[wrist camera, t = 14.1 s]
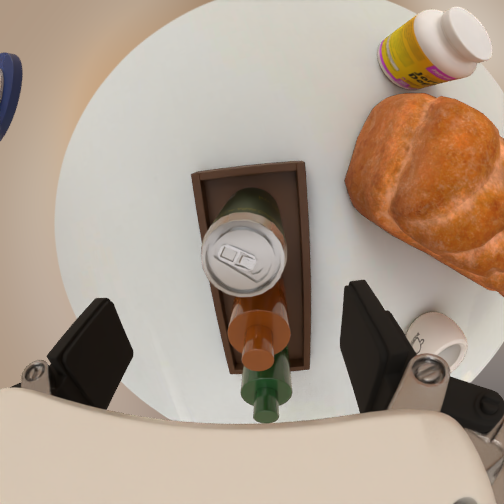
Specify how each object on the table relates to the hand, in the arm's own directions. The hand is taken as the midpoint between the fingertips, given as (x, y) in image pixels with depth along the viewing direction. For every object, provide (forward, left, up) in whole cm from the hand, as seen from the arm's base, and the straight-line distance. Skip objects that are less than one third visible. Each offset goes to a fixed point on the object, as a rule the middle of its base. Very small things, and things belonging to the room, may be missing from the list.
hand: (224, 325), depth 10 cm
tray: (0, -8, -19) cm, 21 cm away
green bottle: (0, -16, -18) cm, 24 cm away
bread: (+23, +1, -19) cm, 30 cm away
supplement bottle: (+18, +16, -19) cm, 31 cm away
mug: (+22, -20, -19) cm, 36 cm away
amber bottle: (0, -8, -18) cm, 20 cm away
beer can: (0, 0, -19) cm, 19 cm away
